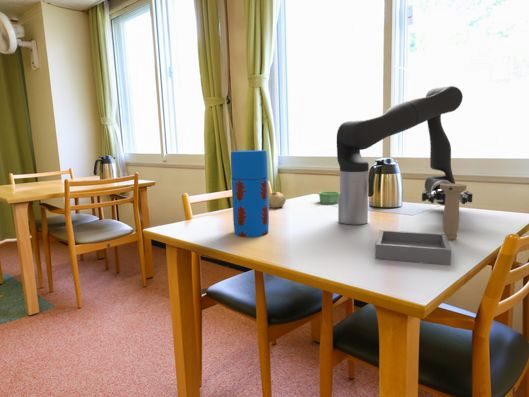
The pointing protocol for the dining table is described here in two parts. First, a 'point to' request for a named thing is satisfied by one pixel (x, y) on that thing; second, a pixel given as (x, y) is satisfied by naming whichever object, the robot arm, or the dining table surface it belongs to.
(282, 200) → the onion
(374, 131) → the robot arm
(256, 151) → the thermos
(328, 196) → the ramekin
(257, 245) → the dining table surface
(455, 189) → the handle
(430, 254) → the tray
